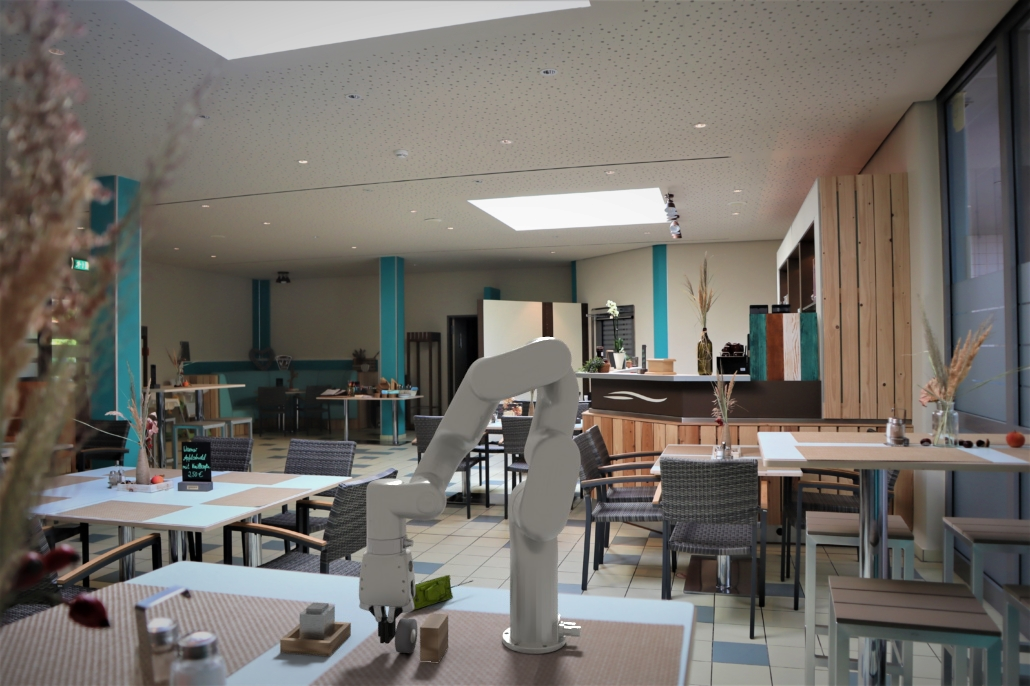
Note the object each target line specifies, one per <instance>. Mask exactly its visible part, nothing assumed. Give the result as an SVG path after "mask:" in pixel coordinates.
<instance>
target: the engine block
mask: <svg viewBox="0 0 1030 686" xmlns="http://www.w3.org/2000/svg"><path fill="white" fill-rule="evenodd" d="M335 610H336V607H335V605H329V602H328V603H326V602H312V603H311V604H310V605H308V606H307V607H306V608H305V609H304V610H303V611H302V612H300V613H299V624H300V639H310V640H324V641H327V640H328V639H329V638H330V637H331V636H332V635H333V634H335V622H336V619H335V618H336V617H335V616H336V613H335V612H336V611H335Z"/></svg>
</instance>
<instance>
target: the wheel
mask: <svg viewBox="0 0 1030 686" xmlns="http://www.w3.org/2000/svg"><path fill="white" fill-rule="evenodd" d="M396 625H397V626H396V633H395V637H394V648H395V651H396V652H397V653H400V654H401V653H402V654H403V653H404V654H412V653H413V652H414V650H415V648H416V645H417V641H418V622H417V620H416V619H415V618H402V617H401V618H400V619H399V620H398V622H397V624H396Z"/></svg>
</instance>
